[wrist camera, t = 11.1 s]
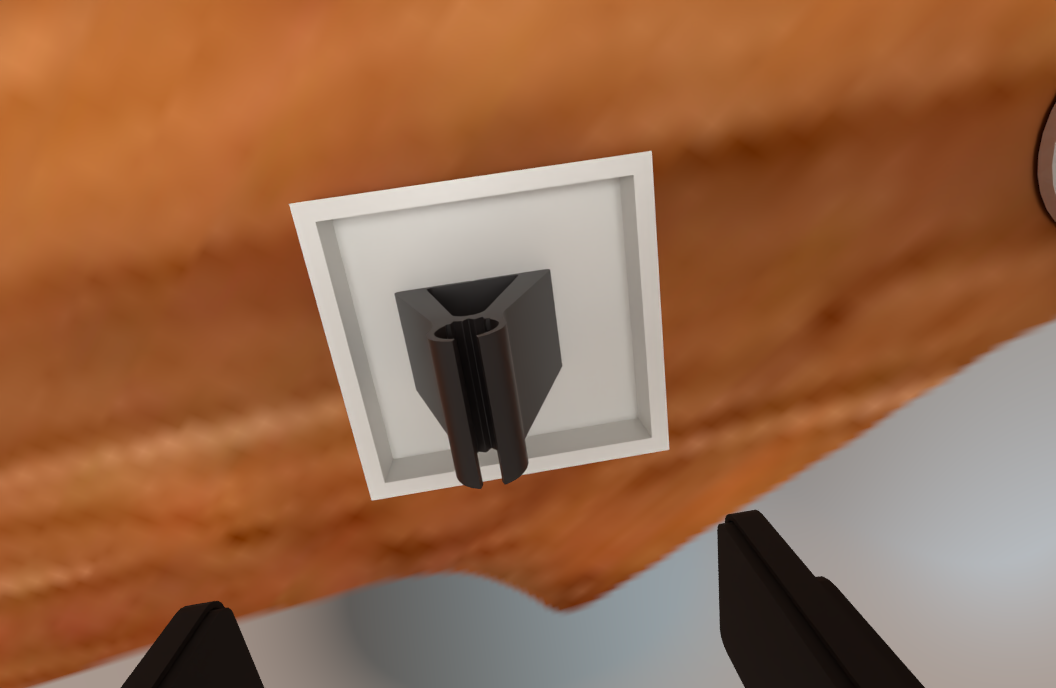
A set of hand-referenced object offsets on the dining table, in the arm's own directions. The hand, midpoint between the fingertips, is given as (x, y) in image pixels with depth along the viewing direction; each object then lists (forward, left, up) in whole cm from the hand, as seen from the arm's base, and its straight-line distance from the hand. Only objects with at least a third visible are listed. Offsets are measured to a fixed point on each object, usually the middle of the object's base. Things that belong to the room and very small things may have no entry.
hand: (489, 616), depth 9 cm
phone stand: (0, 0, -21) cm, 21 cm away
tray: (-1, 0, -22) cm, 22 cm away
